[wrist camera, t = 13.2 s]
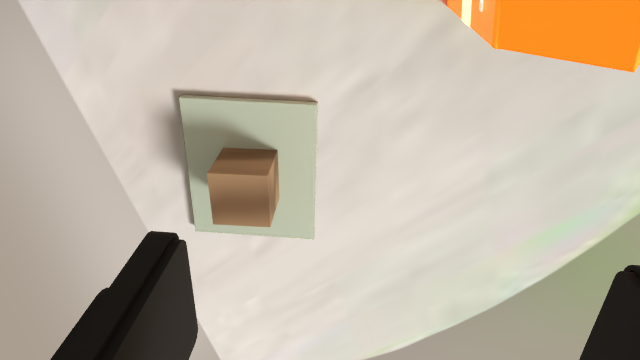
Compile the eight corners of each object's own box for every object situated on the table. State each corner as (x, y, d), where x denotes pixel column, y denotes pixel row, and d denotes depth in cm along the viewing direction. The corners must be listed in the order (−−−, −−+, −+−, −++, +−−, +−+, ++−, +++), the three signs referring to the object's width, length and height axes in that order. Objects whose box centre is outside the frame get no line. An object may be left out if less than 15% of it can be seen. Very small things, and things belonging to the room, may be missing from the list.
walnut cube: (223, 147, 42) (206, 173, 38) (277, 150, 42) (267, 176, 37) (227, 195, 44) (213, 224, 40) (279, 197, 44) (270, 227, 40)
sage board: (182, 94, 41) (179, 97, 40) (317, 102, 40) (317, 105, 39) (198, 226, 47) (195, 231, 47) (314, 234, 47) (313, 239, 46)
